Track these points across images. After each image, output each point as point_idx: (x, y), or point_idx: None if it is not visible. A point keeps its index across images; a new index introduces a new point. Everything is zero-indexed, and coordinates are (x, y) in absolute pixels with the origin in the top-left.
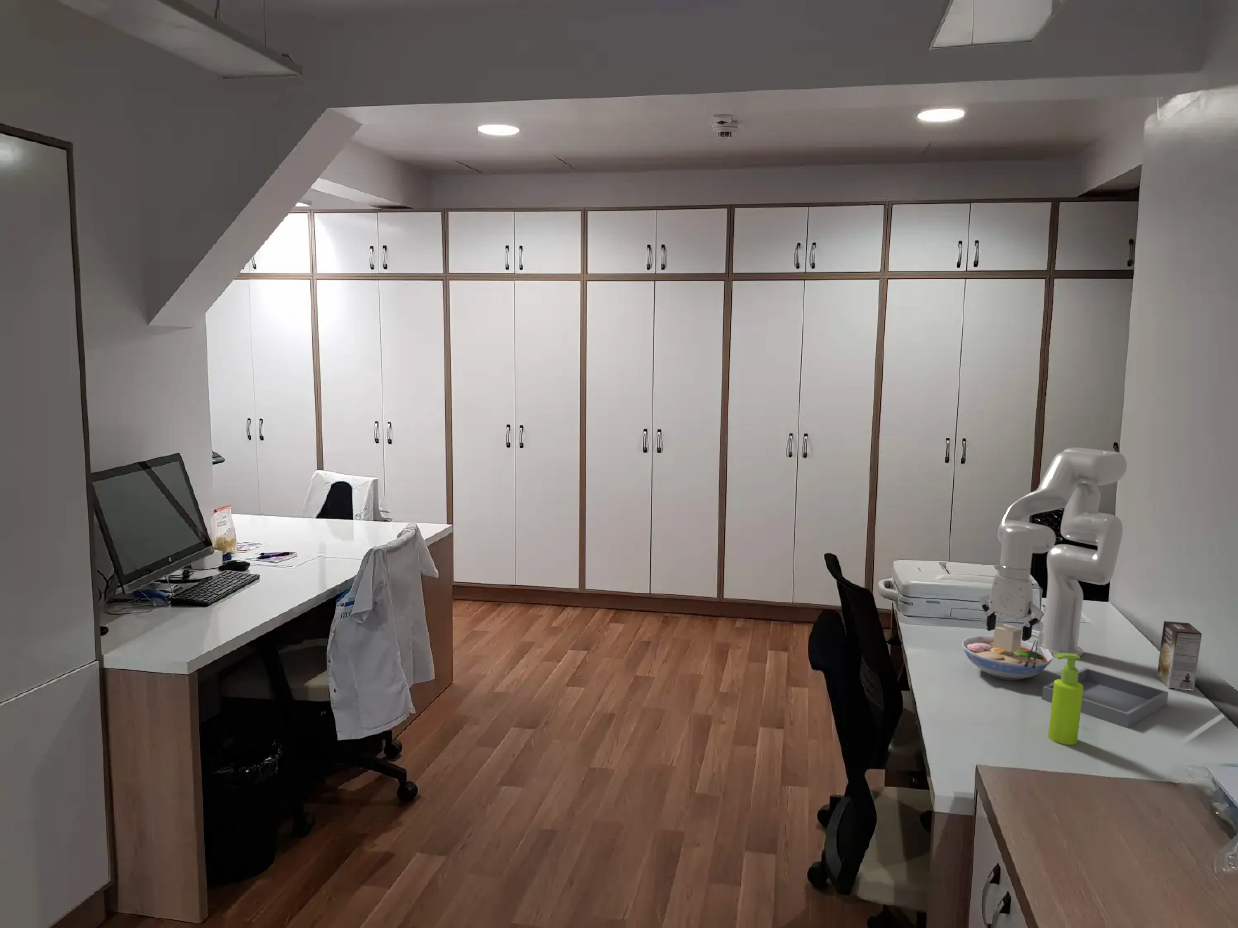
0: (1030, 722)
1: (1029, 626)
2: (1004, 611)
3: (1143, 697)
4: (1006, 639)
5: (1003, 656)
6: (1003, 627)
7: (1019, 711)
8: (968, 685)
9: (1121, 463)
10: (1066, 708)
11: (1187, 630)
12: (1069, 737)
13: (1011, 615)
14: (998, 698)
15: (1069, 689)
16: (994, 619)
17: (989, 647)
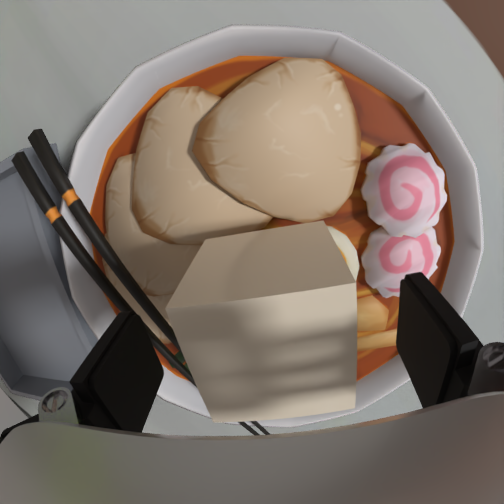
0: (11, 21)
1: (51, 393)
2: (246, 479)
3: (41, 378)
4: (232, 264)
5: (238, 206)
6: (308, 348)
7: (46, 30)
8: (253, 7)
9: None
10: None
11: None
12: None
13: (120, 437)
14: (122, 25)
15: None
16: (424, 381)
17: (373, 264)
